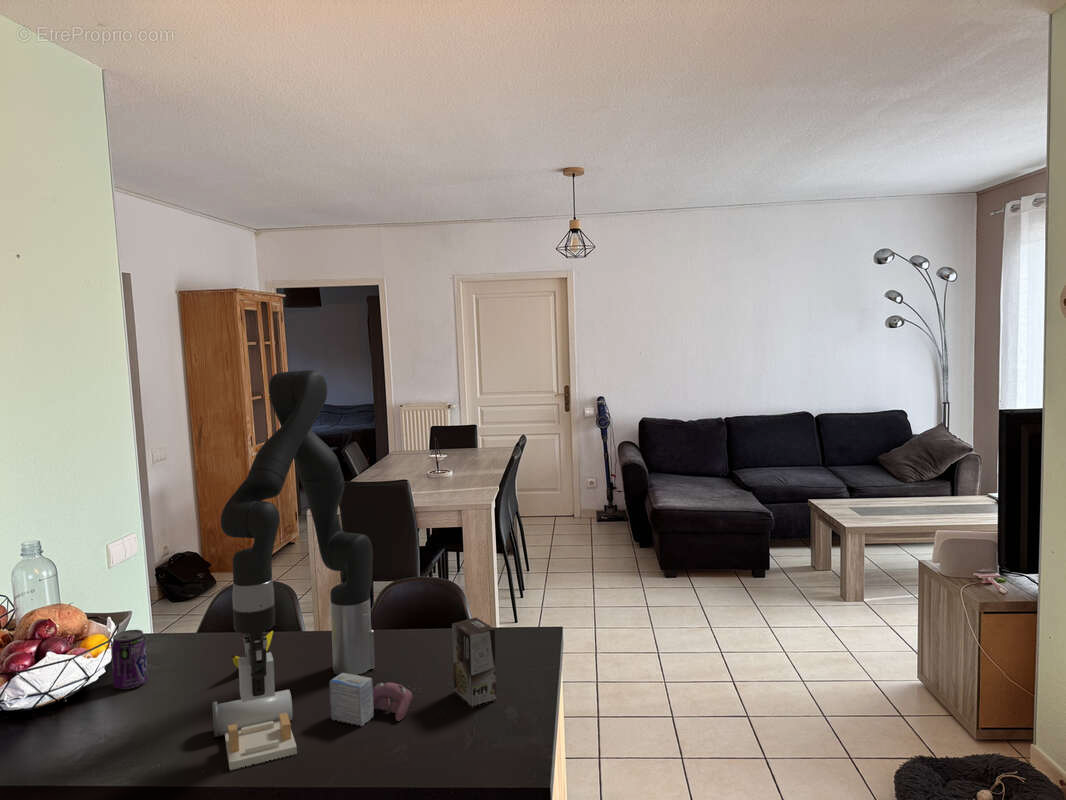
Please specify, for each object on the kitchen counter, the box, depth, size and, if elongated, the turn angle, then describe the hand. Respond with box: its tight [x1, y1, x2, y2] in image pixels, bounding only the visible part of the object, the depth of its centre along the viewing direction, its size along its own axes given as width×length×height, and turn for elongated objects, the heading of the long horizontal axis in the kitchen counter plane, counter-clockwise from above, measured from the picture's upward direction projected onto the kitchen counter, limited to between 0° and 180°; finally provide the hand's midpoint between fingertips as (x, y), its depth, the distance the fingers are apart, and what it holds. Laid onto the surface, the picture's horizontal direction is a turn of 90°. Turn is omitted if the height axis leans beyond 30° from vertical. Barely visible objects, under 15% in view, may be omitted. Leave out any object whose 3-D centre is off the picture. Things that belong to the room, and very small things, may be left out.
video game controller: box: [372, 682, 413, 722], centre depth 159 cm, size 10×5×7 cm, turn 64°
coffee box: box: [451, 617, 497, 707], centre depth 165 cm, size 9×6×16 cm
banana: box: [231, 630, 274, 669], centre depth 184 cm, size 3×19×6 cm, turn 172°
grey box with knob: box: [238, 651, 276, 702], centre depth 145 cm, size 6×4×9 cm
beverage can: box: [110, 629, 149, 690], centre depth 174 cm, size 7×7×12 cm
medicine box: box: [329, 673, 375, 727], centre depth 156 cm, size 8×4×9 cm, turn 67°
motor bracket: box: [212, 689, 298, 771], centre depth 148 cm, size 15×18×7 cm
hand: (257, 689), depth 145 cm, fingers closed on grey box with knob, 4 cm apart
